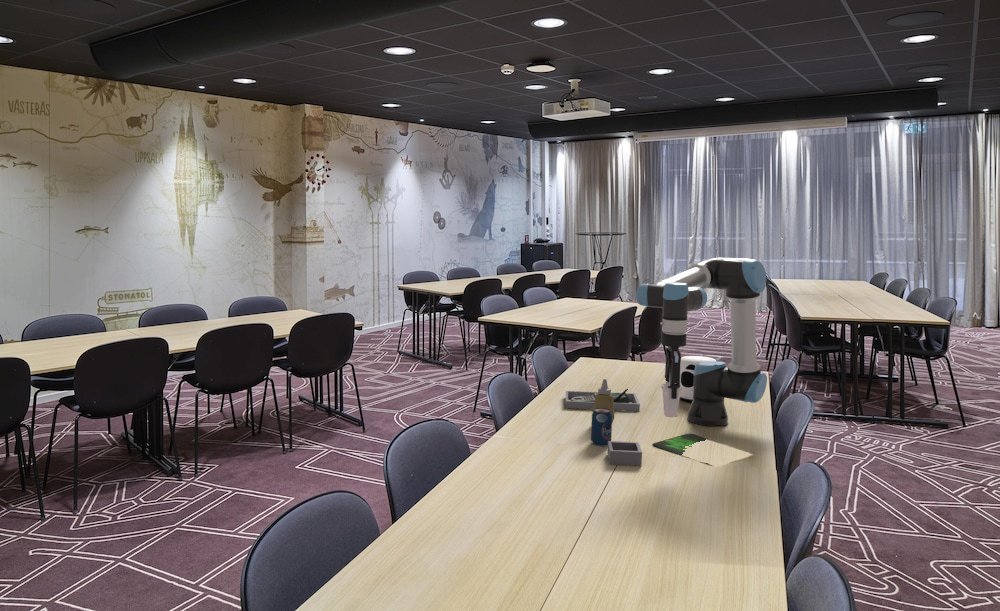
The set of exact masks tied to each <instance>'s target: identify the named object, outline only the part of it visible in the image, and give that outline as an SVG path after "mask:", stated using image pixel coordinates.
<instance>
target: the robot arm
mask: <svg viewBox="0 0 1000 611" xmlns="http://www.w3.org/2000/svg"><path fill="white" fill-rule="evenodd" d="M766 284H767V273H766V268H765V266H764V265H763V263H762V262H761V261H760V260H758V259H750V258H748V257H747V258H742V257H741V258H739V257H738V258H737V257H713V258H710V259H706V260H702V261H699V262H696V263H695V264H692V265H690V266H689V267H688V268H687V270H685V271H682V272H680V273H678V274H674V275H673V276H671V277H669V278H666V279H663V280H661V281H658V282H656V283H641V284H640V285H638V288H636V291H635V292H636V294H635V297H636V301H637V304H638V305H639V306H643V307H647V308H656V309H657V308H659V309H662V318H661V319H662V321H661V322H660V321H659V322H660V326H661V331H662V333H661V336H660V337H661V340H660V341H661V342H660V343H661V345H662V346H664V347H666V348H665V369H664V379H665V384H666V383H669V378H670V386H668V388H669V401H668V408H669V409H678V410H679V405H678V388H680V363H681V357H682V356H681V355H682V354H681V353H682V352H681V351H680V349H679V348H681V347H686V346H687V334H686V333H687V332H688V312H696V311H698V310H701V309H703V308H704V307H705V306H706V304H707V302H708V294H707V292H706V291H705V289H715V290H724V291H725V296H726V298H727V299H728V300H729V301H730V335H731V336H730V337H731V338H730V340H731V341H730V342H731V343H730V344H731V361H730V362H729V363H728V364H727V363H726V362H724V361H717V360H716V361H714V362H702V363H698V364H697V365H696V366H695V370H694V386H693V401H691V404H690V406H689V409H688V411H687V419H686V420H688V422H690V423H693V424H695V425H700V426H706V425H709V427H711V426H710V425H721V426H725V425H727V424H728V422H729V415H728V412H727V408H726V405H725V399H728V400H729V399H730V400H735V401H740V402H744V403H752V404H754V403H755V404H756V403H758V402H759V401H760V400H761V399H762V398H763V397H764V394H765V392H766V388H767V384H768V376H767V374H766V373H765V372H763V371H761V369H762V368H761V367H762V366H761V364H760V363H758V362H757V327H756V326H757V323H756V322H757V320H756V316H757V315H756V311H757V310H756V300H757V299H758V298H759V297H760V296H761V293H762V292H764V291H765V289H766ZM724 424H725V425H724Z"/></svg>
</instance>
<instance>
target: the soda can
mask: <svg viewBox="0 0 1000 611" xmlns="http://www.w3.org/2000/svg"><path fill="white" fill-rule="evenodd" d="M610 411H611V410H610V409H607V408H595V409H594V410H592V413H591V427H590V428H591V431H590V432H591V433H590V441H591V443H592V444H593V445H595V446H597V445H598V447H608V441H612V435H613V434H612V430H613V427H612V426H613V423H612V414H611V412H610Z"/></svg>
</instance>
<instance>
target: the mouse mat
mask: <svg viewBox="0 0 1000 611" xmlns="http://www.w3.org/2000/svg"><path fill="white" fill-rule="evenodd" d="M706 439H707V438H706V437H703V436H701V435H697V434H695V433H685V434H681V435H679V436H678V435H677V436H674V437H670V438H668V439H665V440H663V439H662V440H660V441H656V442H653V443H652V446H653V447H655V448H658V449H661V450H662V451H666V452H669V453H672V454H675V455H678V454H679V455H678V456H681V455H682V454H683V452H685V450H683V449H687V448H685V446H689V445H692V444H694V443H696V442H700V441H705V440H706ZM689 447H692V446H689Z"/></svg>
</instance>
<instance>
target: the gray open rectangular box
mask: <svg viewBox="0 0 1000 611" xmlns="http://www.w3.org/2000/svg"><path fill="white" fill-rule="evenodd" d="M607 454H608V455H607V458H608V459H609V460H608V463H609V464H610V466H627V465H642V462H643V461H642V460H643V459H642V458H643V451H642V448H641V445H640V443H639V442H638V441H620V440H619V441H617V440H616V441H614V440H611V441H608V445H607Z"/></svg>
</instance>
